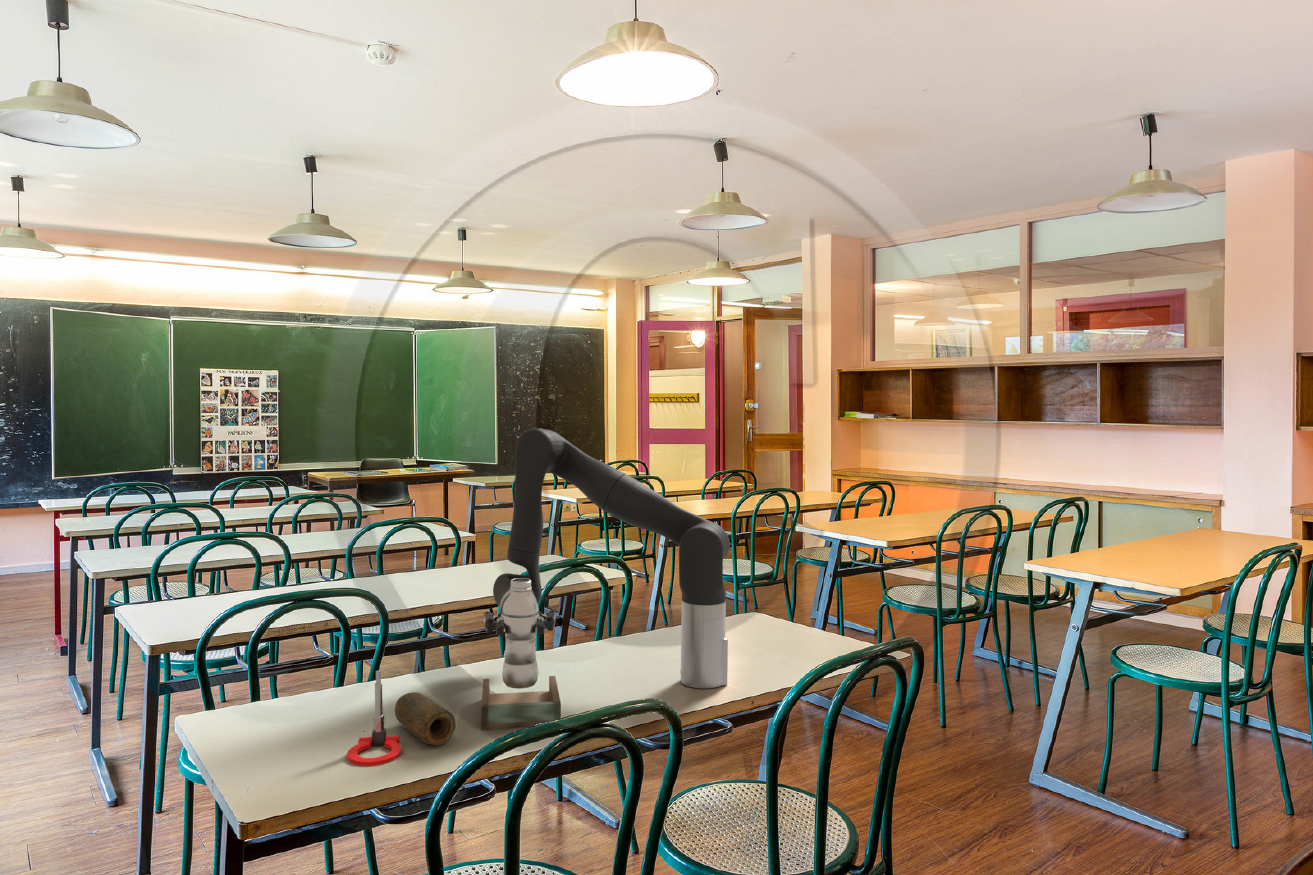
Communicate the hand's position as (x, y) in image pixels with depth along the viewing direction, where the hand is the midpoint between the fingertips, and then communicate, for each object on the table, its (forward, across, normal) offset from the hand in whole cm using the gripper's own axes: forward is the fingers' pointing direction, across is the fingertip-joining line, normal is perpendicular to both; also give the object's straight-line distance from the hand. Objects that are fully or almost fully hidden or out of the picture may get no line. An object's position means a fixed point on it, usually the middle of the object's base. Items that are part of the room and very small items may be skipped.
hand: (520, 631), depth 156 cm
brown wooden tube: (+5, -16, +17) cm, 24 cm away
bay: (-4, 0, +16) cm, 17 cm away
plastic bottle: (-2, 0, +11) cm, 11 cm away
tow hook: (+12, -24, +17) cm, 31 cm away
